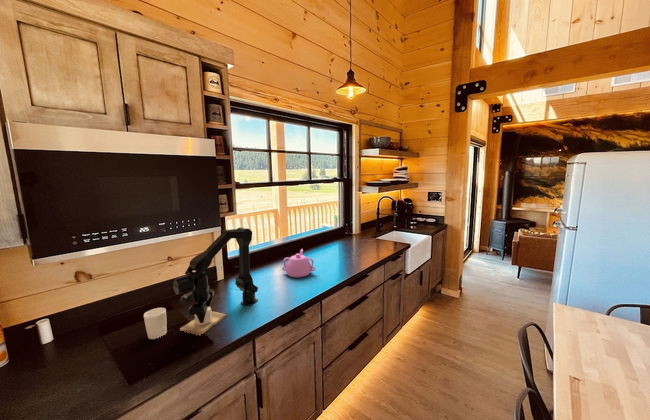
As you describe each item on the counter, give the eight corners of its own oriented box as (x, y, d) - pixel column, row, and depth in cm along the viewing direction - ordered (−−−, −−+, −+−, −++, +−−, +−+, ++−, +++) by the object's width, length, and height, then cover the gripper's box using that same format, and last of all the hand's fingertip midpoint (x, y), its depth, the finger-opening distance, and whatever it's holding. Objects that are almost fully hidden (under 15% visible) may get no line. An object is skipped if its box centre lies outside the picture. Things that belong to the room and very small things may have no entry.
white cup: (164, 326, 117) (161, 305, 116) (171, 333, 112) (168, 311, 111) (143, 335, 111) (140, 313, 110) (150, 342, 106) (147, 319, 105)
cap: (213, 316, 123) (212, 304, 122) (209, 324, 116) (208, 311, 116) (198, 317, 122) (197, 306, 121) (193, 325, 115) (192, 313, 114)
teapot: (317, 267, 187) (317, 248, 185) (313, 279, 165) (312, 258, 163) (287, 266, 189) (286, 248, 187) (279, 279, 168) (278, 258, 166)
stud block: (208, 312, 129) (207, 302, 128) (226, 316, 125) (225, 305, 124) (180, 330, 114) (178, 319, 113) (199, 335, 110) (198, 324, 109)
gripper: (188, 279, 124) (191, 310, 127) (172, 297, 106) (176, 333, 108) (213, 277, 126) (215, 307, 129) (202, 294, 108) (205, 329, 110)
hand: (203, 318), depth 119 cm, fingers closed on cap, 6 cm apart
